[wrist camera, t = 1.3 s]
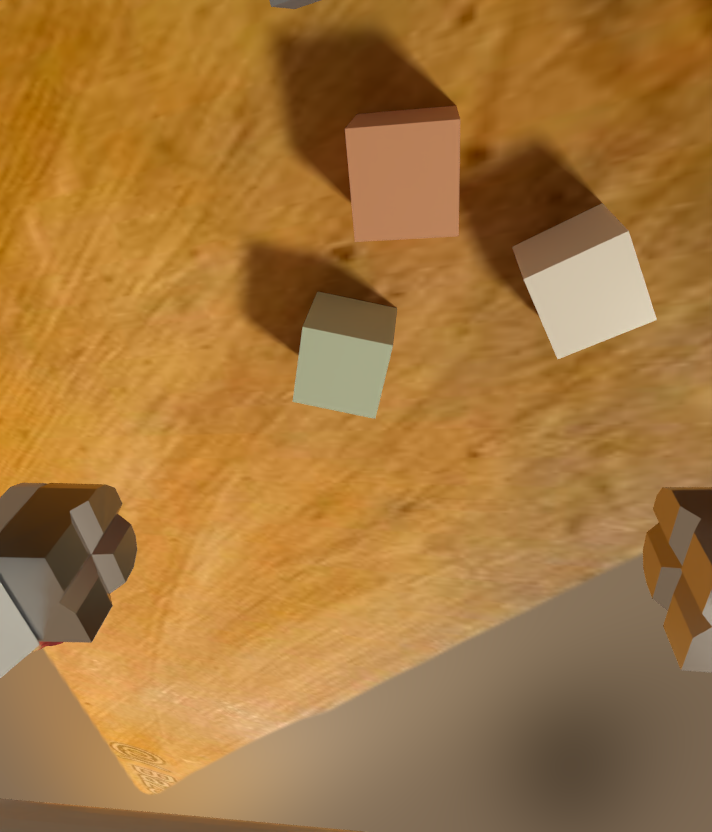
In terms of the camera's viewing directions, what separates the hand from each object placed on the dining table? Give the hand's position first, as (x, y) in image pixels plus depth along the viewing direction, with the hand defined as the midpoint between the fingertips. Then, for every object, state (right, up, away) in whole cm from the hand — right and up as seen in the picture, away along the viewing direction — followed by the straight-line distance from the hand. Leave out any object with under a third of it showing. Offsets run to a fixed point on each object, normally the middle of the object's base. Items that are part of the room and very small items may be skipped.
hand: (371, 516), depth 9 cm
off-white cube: (+12, +10, +24) cm, 28 cm away
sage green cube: (-1, +7, +28) cm, 28 cm away
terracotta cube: (+3, +15, +21) cm, 26 cm away
